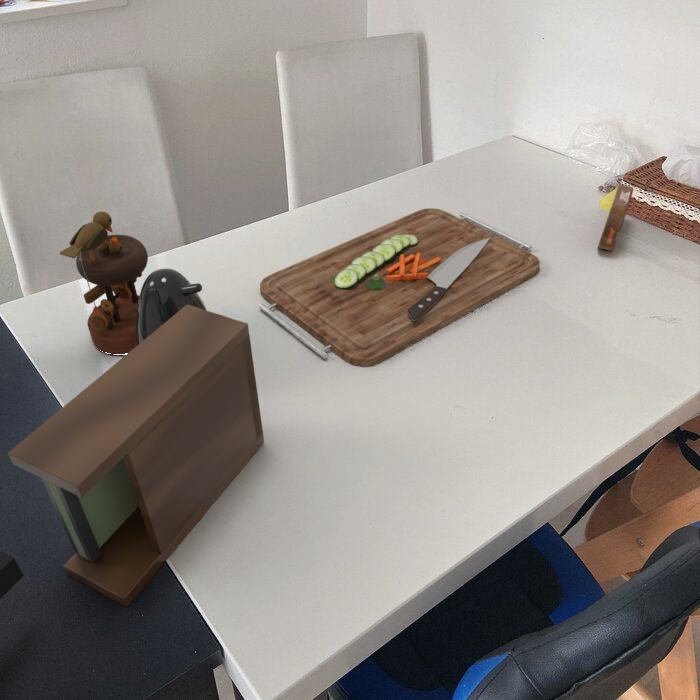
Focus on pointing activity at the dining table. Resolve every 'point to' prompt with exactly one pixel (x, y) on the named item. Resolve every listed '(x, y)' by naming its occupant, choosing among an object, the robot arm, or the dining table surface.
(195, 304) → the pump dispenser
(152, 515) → the cabinet frame
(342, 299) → the chopping board
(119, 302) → the music box
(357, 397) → the dining table surface
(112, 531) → the sliding door
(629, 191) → the tin
